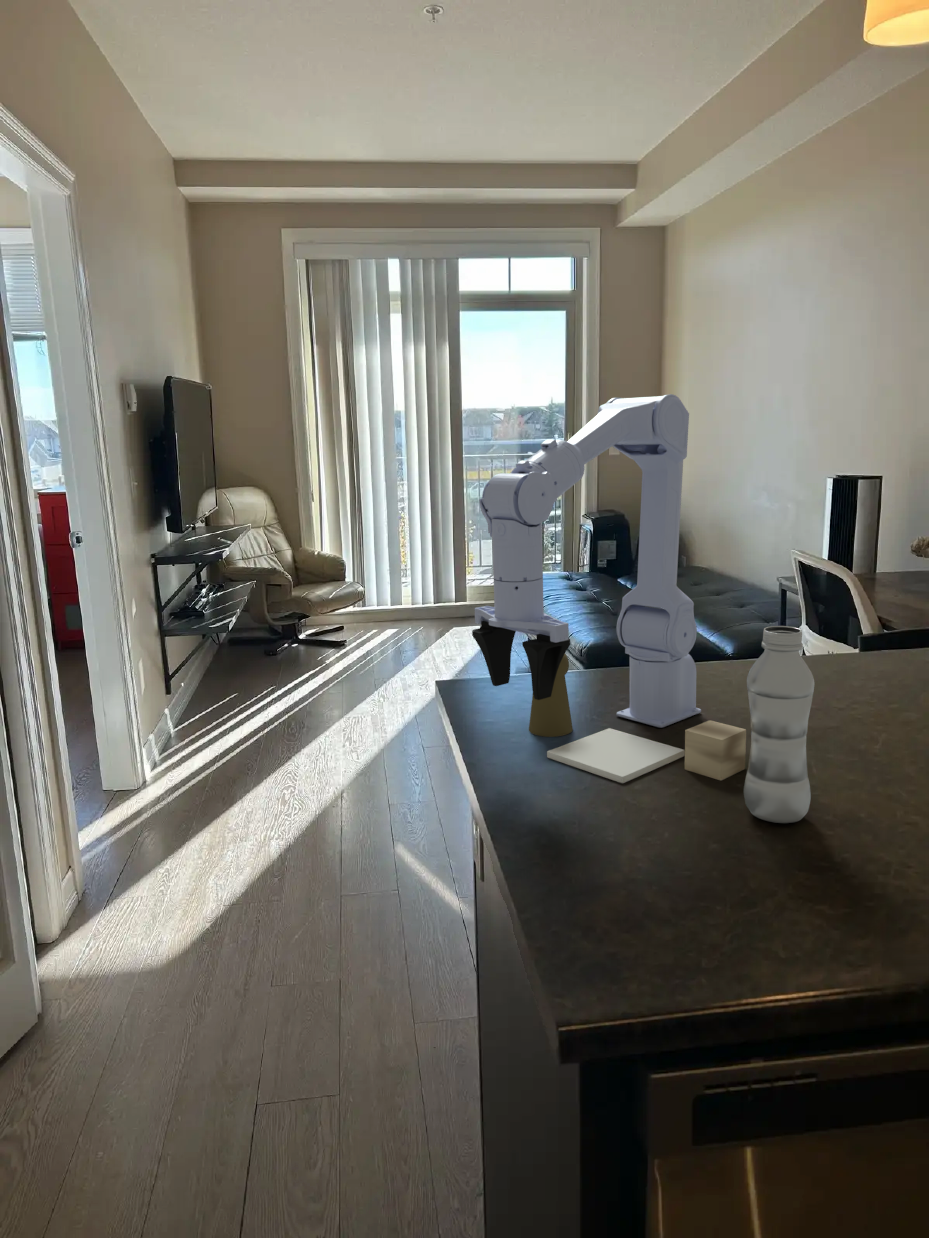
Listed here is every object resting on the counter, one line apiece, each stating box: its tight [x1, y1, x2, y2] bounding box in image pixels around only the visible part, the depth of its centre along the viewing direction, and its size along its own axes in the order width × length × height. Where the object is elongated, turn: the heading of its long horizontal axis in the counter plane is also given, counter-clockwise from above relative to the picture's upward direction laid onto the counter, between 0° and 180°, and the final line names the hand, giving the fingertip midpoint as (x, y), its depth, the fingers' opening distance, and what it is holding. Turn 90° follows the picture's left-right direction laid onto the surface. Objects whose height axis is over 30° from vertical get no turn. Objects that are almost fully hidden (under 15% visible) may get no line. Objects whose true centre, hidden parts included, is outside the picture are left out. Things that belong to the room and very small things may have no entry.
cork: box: [528, 653, 574, 738], centre depth 121 cm, size 6×6×11 cm
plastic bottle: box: [743, 625, 816, 824], centre depth 91 cm, size 6×7×20 cm
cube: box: [684, 719, 747, 782], centre depth 106 cm, size 5×5×5 cm
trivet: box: [546, 727, 685, 784], centre depth 111 cm, size 12×12×1 cm
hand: (521, 690), depth 106 cm, fingers open, 7 cm apart
